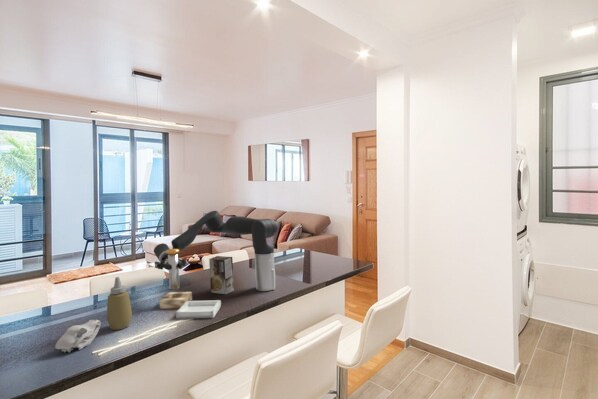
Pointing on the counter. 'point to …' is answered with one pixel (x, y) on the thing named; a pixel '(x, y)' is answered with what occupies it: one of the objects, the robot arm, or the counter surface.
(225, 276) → the coffee box
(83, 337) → the skull
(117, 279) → the squeeze bottle
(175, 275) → the pin
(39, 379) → the counter surface
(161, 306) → the socket block
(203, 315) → the tray
